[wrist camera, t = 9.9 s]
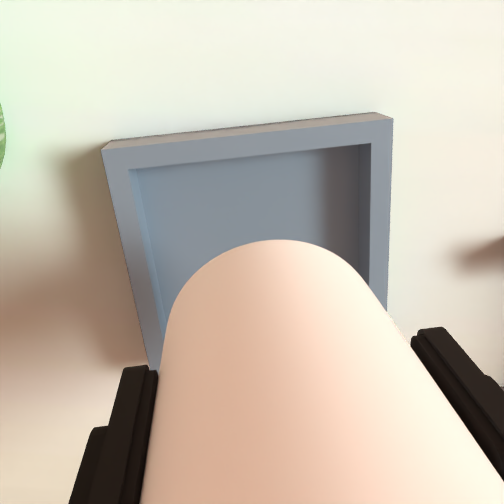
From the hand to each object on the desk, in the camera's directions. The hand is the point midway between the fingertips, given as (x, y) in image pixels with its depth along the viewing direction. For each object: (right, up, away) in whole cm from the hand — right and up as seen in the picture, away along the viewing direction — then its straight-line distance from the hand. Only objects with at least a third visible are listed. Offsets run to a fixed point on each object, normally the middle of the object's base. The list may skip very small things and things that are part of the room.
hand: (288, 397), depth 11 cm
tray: (-1, +4, +9) cm, 10 cm away
